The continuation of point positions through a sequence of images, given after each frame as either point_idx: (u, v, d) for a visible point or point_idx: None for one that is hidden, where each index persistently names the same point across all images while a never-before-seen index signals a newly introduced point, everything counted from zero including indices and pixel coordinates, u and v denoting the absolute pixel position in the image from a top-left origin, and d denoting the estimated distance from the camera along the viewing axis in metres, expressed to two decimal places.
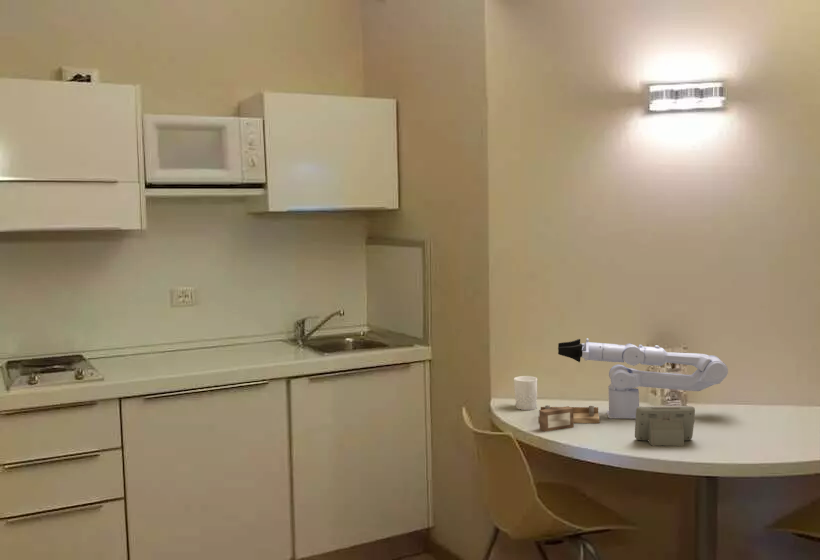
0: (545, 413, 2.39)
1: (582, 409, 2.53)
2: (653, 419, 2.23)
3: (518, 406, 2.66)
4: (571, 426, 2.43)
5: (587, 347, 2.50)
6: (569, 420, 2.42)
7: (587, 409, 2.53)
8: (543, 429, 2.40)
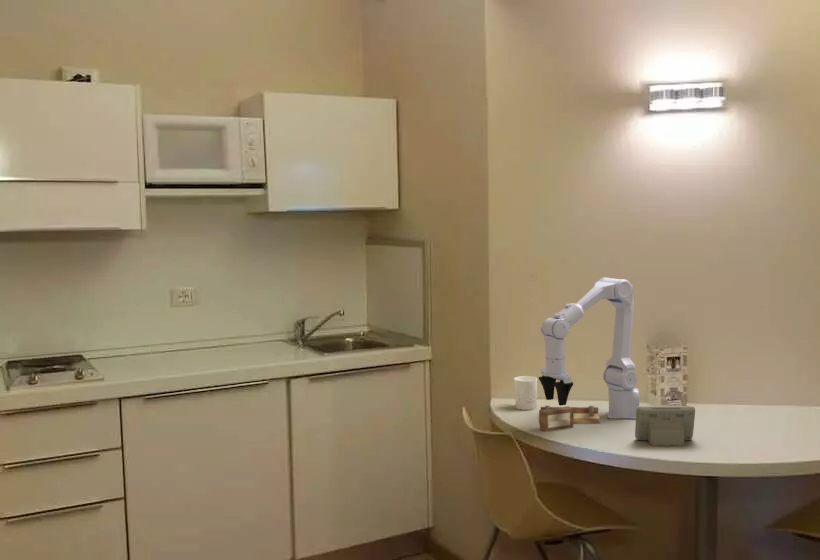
0: (545, 413, 2.39)
1: (582, 409, 2.53)
2: (653, 418, 2.23)
3: (518, 406, 2.66)
4: (571, 426, 2.43)
5: (556, 376, 2.37)
6: (569, 420, 2.42)
7: (587, 409, 2.53)
8: (543, 429, 2.40)
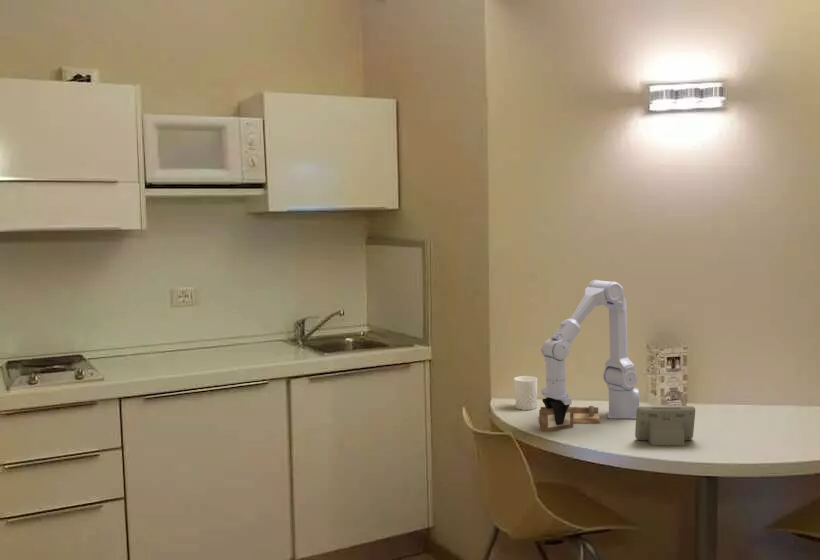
0: (545, 413, 2.39)
1: (582, 409, 2.53)
2: (653, 418, 2.23)
3: (518, 406, 2.66)
4: (571, 426, 2.43)
5: (557, 397, 2.37)
6: (569, 420, 2.42)
7: (587, 409, 2.53)
8: (543, 429, 2.40)
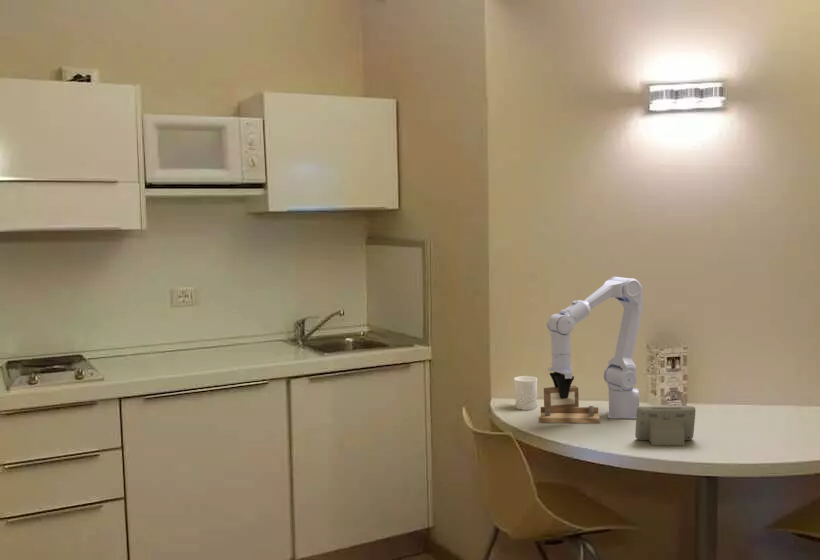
0: (547, 391, 2.43)
1: (582, 409, 2.53)
2: (653, 418, 2.23)
3: (518, 406, 2.66)
4: (576, 405, 2.44)
5: (559, 371, 2.40)
6: (573, 399, 2.44)
7: (587, 409, 2.53)
8: (546, 406, 2.44)
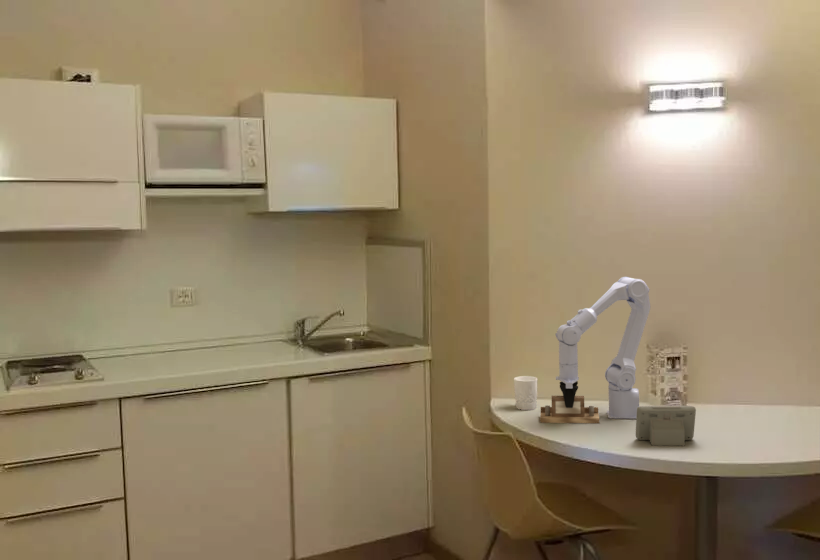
0: (553, 399, 2.49)
1: None
2: (654, 418, 2.23)
3: (518, 406, 2.66)
4: (582, 415, 2.48)
5: (562, 380, 2.46)
6: (579, 409, 2.48)
7: (587, 409, 2.53)
8: None
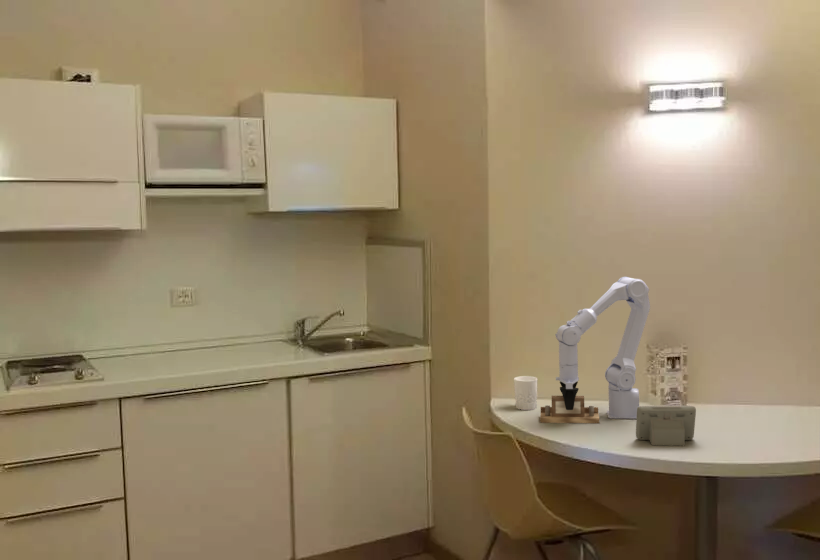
0: (553, 399, 2.49)
1: None
2: (654, 418, 2.24)
3: (518, 406, 2.66)
4: (582, 415, 2.48)
5: (563, 381, 2.46)
6: (579, 409, 2.48)
7: (587, 409, 2.53)
8: None
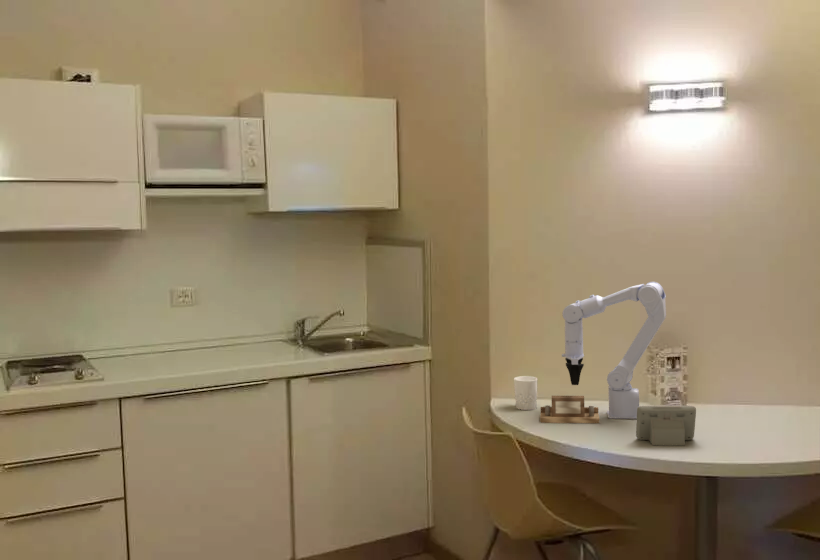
0: (553, 399, 2.49)
1: None
2: (654, 418, 2.24)
3: (518, 406, 2.66)
4: (582, 415, 2.48)
5: (568, 357, 2.55)
6: (579, 409, 2.48)
7: (587, 409, 2.53)
8: None
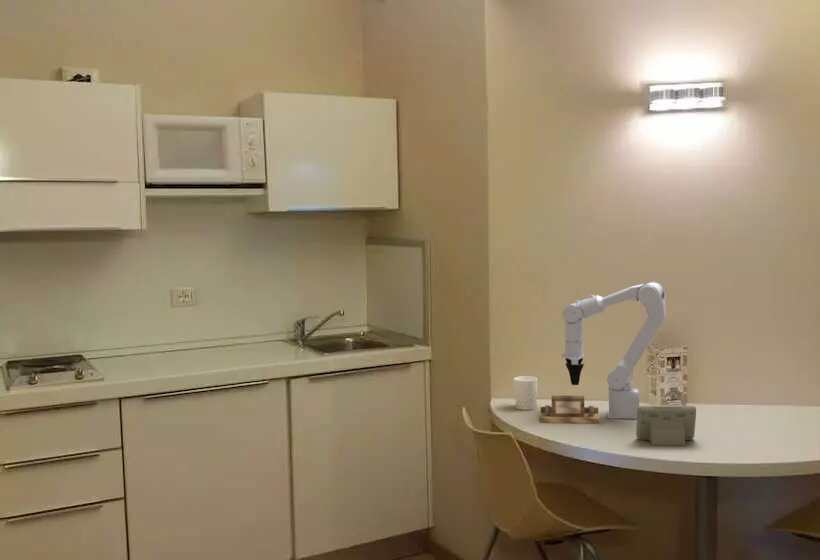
0: (553, 399, 2.49)
1: None
2: (654, 418, 2.24)
3: (518, 406, 2.66)
4: (582, 415, 2.48)
5: (568, 357, 2.55)
6: (579, 409, 2.48)
7: (587, 409, 2.53)
8: None
